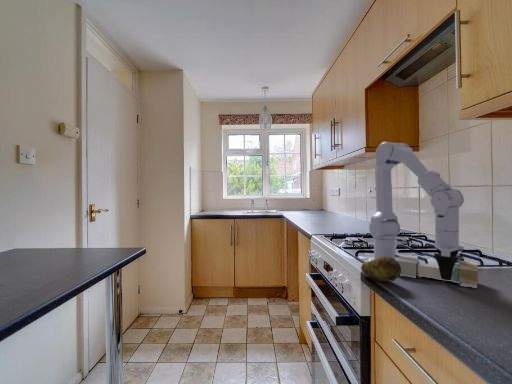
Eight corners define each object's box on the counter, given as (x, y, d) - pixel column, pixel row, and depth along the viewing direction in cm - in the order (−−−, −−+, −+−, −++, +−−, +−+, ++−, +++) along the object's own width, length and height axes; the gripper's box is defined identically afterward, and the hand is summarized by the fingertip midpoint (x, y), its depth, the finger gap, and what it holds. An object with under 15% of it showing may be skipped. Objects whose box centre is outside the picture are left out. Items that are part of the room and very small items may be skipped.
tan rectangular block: (459, 279, 82) (459, 260, 82) (476, 282, 80) (476, 262, 79) (459, 286, 77) (459, 265, 77) (477, 289, 74) (477, 268, 74)
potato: (385, 274, 87) (385, 249, 87) (406, 290, 74) (406, 260, 74) (358, 274, 87) (358, 249, 87) (374, 289, 75) (375, 260, 74)
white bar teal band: (419, 273, 88) (419, 259, 87) (466, 280, 80) (466, 265, 80) (417, 277, 83) (417, 262, 83) (467, 285, 76) (467, 269, 76)
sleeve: (398, 270, 92) (398, 256, 92) (418, 273, 88) (418, 258, 88) (394, 275, 87) (394, 260, 86) (416, 278, 83) (416, 263, 83)
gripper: (464, 235, 73) (463, 285, 73) (463, 228, 84) (463, 272, 84) (432, 232, 77) (432, 280, 77) (436, 226, 89) (436, 268, 89)
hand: (446, 276), depth 81 cm, fingers open, 7 cm apart
